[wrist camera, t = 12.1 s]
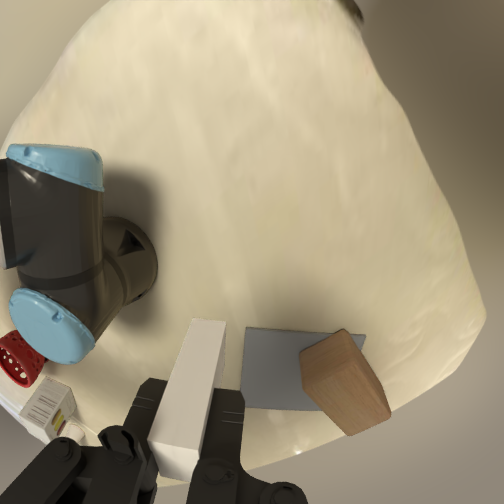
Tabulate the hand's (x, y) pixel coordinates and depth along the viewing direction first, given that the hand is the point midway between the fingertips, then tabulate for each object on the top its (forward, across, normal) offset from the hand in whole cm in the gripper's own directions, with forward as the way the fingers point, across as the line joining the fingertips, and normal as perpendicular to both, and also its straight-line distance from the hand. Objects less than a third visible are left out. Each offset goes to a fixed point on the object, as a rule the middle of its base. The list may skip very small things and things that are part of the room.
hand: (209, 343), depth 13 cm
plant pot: (+33, -52, -38) cm, 72 cm away
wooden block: (+27, +14, -23) cm, 38 cm away
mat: (+32, +12, -34) cm, 48 cm away
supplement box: (+33, -50, -57) cm, 83 cm away
